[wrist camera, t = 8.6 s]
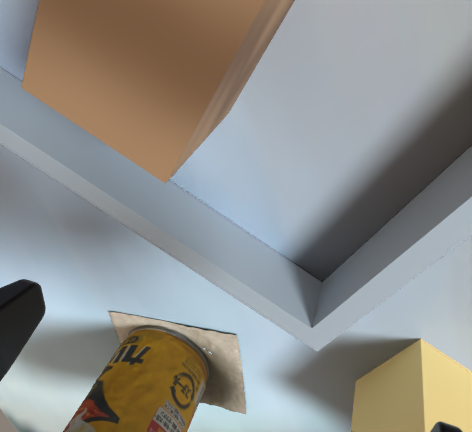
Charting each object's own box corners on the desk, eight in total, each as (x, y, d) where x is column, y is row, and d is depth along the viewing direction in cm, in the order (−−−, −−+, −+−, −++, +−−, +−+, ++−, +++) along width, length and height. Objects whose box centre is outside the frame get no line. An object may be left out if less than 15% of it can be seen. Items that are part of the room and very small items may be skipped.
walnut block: (229, 112, 18) (165, 183, 13) (124, 41, 17) (21, 87, 13) (332, -65, 13) (294, -55, 9) (197, -164, 13) (81, -208, 8)
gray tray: (771, -76, 11) (878, -75, 8) (326, 304, 22) (317, 351, 19) (-57, -732, 9) (-217, -957, 7) (-80, 34, 20) (-145, 49, 18)
